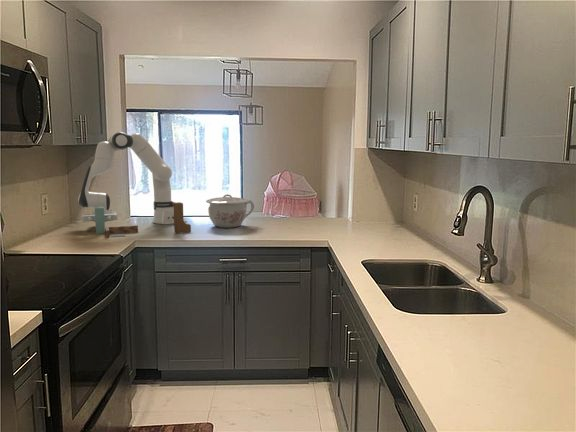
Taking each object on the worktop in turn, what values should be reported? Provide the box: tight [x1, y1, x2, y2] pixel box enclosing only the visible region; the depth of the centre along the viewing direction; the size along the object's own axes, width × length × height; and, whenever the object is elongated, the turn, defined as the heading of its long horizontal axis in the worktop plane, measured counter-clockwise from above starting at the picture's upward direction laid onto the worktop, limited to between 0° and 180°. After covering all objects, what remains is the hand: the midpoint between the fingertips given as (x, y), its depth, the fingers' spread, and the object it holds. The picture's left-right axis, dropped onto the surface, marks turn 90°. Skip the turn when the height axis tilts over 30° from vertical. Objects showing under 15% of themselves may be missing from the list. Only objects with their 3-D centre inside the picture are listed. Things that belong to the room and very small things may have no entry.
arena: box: [105, 225, 139, 239], centre depth 282 cm, size 18×13×4 cm
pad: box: [109, 233, 126, 238], centre depth 280 cm, size 8×8×1 cm
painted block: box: [94, 207, 106, 234], centre depth 287 cm, size 5×5×15 cm
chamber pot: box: [205, 194, 255, 229], centre depth 312 cm, size 28×28×21 cm
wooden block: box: [173, 201, 192, 234], centre depth 290 cm, size 9×4×18 cm, turn 123°
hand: (99, 219), depth 287 cm, fingers open, 8 cm apart
